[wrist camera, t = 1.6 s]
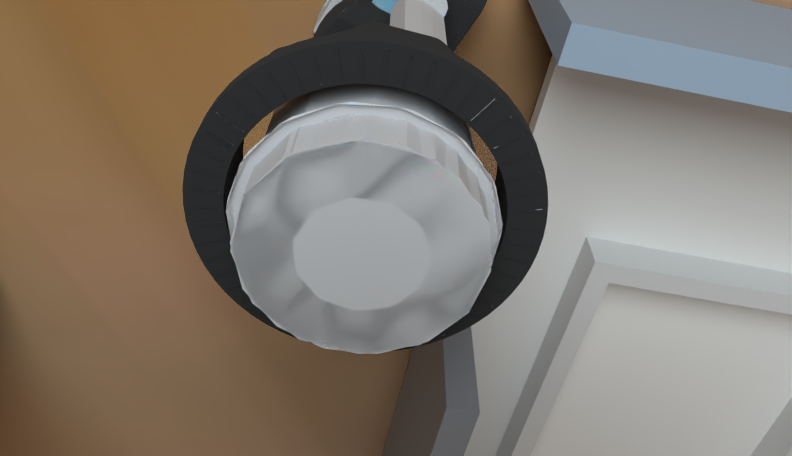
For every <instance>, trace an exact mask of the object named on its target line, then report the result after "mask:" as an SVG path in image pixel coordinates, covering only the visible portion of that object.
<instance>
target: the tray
mask: <svg viewBox="0 0 792 456" xmlns="http://www.w3.org/2000/svg"><path fill="white" fill-rule="evenodd" d="M528 1H529V3H530V5H531V8H532V10H533V12H534V14H535V16H536V19H537V21H538V23H539V25H540V28H541V30H542V32H543V34H544V36H545V39H546V41H547V43H548V45H549V48H550V50H551V52H552V54H553V55H552V58H551V61H550V64H549V67H548V70H547V73H546V76H545V79H544V82H543V85H542V88H541V91H540V94H539V97H538V100H537V103H536V106H535V109H534V112H533V115H532V118H531V121H530V124H529V128H530V130H531V132H532V134H533V137H534V139H535V141H536V144H537V147H538V150H539V153H540V157H541V160H542V163H543V167H544V170H545V175H546V181H547V187H548V214H547V223H546V228H545V232H544V237H543V240H542V243H541V246H540V248H539V251H538V254H537V256H536V258H535V260H534V262H533V264H532V266H531V268H530V269H529V271H528V273H527V274H526V276H525V277H524V279H523V280H522V282H521V283H520V284H519V285H518V287H517V288H516V289H515V290H514V292H513V293H512V294H511V295H510V296H509V297H508V298H507V299H506V300H505V301H504V302H503V303H502V304H501V305H500V306H499V307H497V308H496V309H495V310H494V311H493V312H491V313H490V314H489V315H488V316H486V317H485V318H483V319H482V320H480V321H479V322H477V323H476V324H474V325H472V326H471V331H472V341H473V351H474V361H475V370H476V380H477V390H478V400H479V409H480V414H479V416H478V419H477V422H476V424H475V427H474V430H473V432H472V435H471V438H470V440H469V443H468V446H467V448H466V451H465V453H464V456H792V10H791V9H787V8H782V7H778V6H773V5H768V4H764V3H759V2H754V1H750V0H528Z"/></svg>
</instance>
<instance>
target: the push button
mask: <svg viewBox="0 0 792 456" xmlns="http://www.w3.org/2000/svg"><path fill="white" fill-rule="evenodd" d="M486 2H487V0H326V2H325V3H324V5H323V7H322V9H321V11H320V13H319V15H318V18H317V21H316V24H315V28H314V30H313V31H314V33H315V34H314V37H313V38H311V39H308V40H304V41H300V42H297V43H294V44H292V45H289V46H285V47H282V48H278V49H276V50H274V51H273V52H271V53H270V54H269V55H268V56H266V57H264V58H262V59H260V60H259V61H257V62H256V63H255V64H253V65H252V66H250V67H249V68H247V69H246V70H244V71H243V72H242V73H241V74H240V75H239V76H238V77H237V78H235V79H234V80H233V81H232V82H231V83H230V84H229V85H228V86H227V87H226V88H225V89H224V91H223V92H222V93H221V94H220V95H219V96H218V97H217V99H216V100H215V102H214V103H213V105H212V106H211V108H210V109H209V111H208V112H207V114H206V116H205V118H204V119H203V121H202V123H201V125H200V127H199V129H198V131H197V133H196V135H195V137H194V139H193V142H192V144H191V147H190V150H189V153H188V156H187V161H186V165H185V170H184V179H183V205H184V211H185V217H186V222H187V226H188V229H189V233H190V236H191V239H192V241H193V243H194V246H195V248H196V251H197V253H198V255H199V256H200V258H201V260H202V262H203V263H204V265H205V267H206V268H207V270H208V271H209V273H210V274H211V275H212V277H213V278H214V280H215V281H216V282H217V283H218V284H219V285H220V287H221V288H222V289H223V290H224V291H225V292H226V293H227V294H228V295H229V296H230V297H231V298H232V299H233V300H234V301H235V302H236V303H237V304H239V305H240V306H241V307H242V308H244V309H245V310H246V311H248V312H249V313H250V314H251V315H253V316H254V317H256V318H258V319H259V320H261V321H262V322H264V323H265V324H267V325H269V326H271V327H273V328H275V329H277V330H279V331H280V332H283V333H285V334H288V335H290V336H292V337H295V338H297V339H299V340H303V341H306V342H309V343H312V344H315V345H317V346H319V347H321V348H324V349H332V350H342V351H348V352H352V353H356V354H364V353H371V354H379V353H384V352H388V351H395V350H402V349H408V348H414V347H418V346H422V345H426V344H430V343H433V342H436V341H439V340H442V339H445V338H447V337H450V336H452V335H454V334H457V333H459V332H461V331H463V330H465V329H467V328H468V327H470V326H472V325H474V324H476V323H477V322H479V321H480V320H482V319H483V318H485V317H486V316H488V315H489V314H490V313H491V312H493V311H494V310H495V309H496V308H497V307H499V306H500V305H501V304H502V303H503V302H504V301H505V300H506V299H507V298H508V297H509V296H510V295H511V294H512V293H513V292H514V290H515V289H516V288H517V287H518V285H519V284H520V283H521V282H522V280H523V279H524V277H525V276H526V274H527V273H528V271H529V269H530V268H531V266H532V264H533V262H534V260H535V258H536V256H537V254H538V251H539V248H540V246H541V243H542V240H543V237H544V232H545V228H546V223H547V214H548V187H547V181H546V175H545V170H544V167H543V163H542V160H541V157H540V153H539V150H538V147H537V144H536V141H535V139H534V137H533V134H532V132H531V130H530V128H529V126H528V124H527V122H526V121H525V119H524V117H523V116H522V114H521V112H520V111H519V110H518V108H517V107H516V106H515V104H514V103H513V102H512V100H511V99H510V98H509V96H508V95H507V94H506V93H505V92H504V91H503V90H502V89H501V88H500V87H499V86H498V85H497V84H496V83H495V82H494V81H492V80H491V79H490V78H489V77H488V76H486V75H485V74H484V73H483V72H481V71H480V70H479V69H477V68H476V67H474V66H473V65H471V64H470V63H468V62H467V61H465V60H464V59H462V58H460V57H458V56H457V55H456V54H455V53H454V52H453V51H454V50H455V48H456V47H457V46H458V44H459V43H460V41H461V40H462V39H463V37H464V36H465V34H466V33H467V31H468V30H469V29H470V27H471V26H472V24H473V23H474V22H475V20H476V19H477V17H478V16H479V15H480V13H481V12H482V10H483V8H484V6H485V4H486ZM274 109H275V111H274V113H273V116H272V119H271V122H270V124H269V127H268V130H267V132H266V135H265V137H264V138H263V139H262V140H261V141H260V142H258V143H257V144H256V145H255V146H254V147H253V148H252V149H251V150H249V151H248V153H247V154H246V155H245V157H244V158H243V144H244V138H245V137H246V135H247V134H248V133H249V132H250V130H251V129H252V128H253V127H254V126H255V125H256V124H257V123H258V122H259V121H260V120H261V119H262V118H264V117H265V116H266V115H268V114H269V113H270V112H272V111H273V110H274ZM469 125H470V126H471V127H472V128H473V129H474V130H475V131H476V132H477V133H478V134H479V136H480V137H481V138H482V140H483V141H484V142H485V144H486V145H487V146H488V147H489V149H490V151H491V153H492V154H493V156H494V158H495V159H496V161H497V175H496V181H495V183H494V181H493V178H492V176H491V175H490V173H489V172H488V171H487V169H486V168H485V167H484V165H483V164H482V163H481V161H480V160H479V159H478V157H477V156H476V152H475V147H474V143H473V139H472V135H471V130H470V126H469Z"/></svg>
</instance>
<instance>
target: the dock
mask: <svg viewBox="0 0 792 456" xmlns="http://www.w3.org/2000/svg"><path fill="white" fill-rule="evenodd" d="M479 414H480V409H479V400H478V390H477V380H476V370H475V361H474V351H473V341H472V331H471V326H470V327H468V328H467V329H465V330H463V331H461V332H459V333H457V334H454V335H452V336H450V337H447V338H445V339H442V340H439V341H436V342H433V343H430V344H426V345H422V346H418V347H414V348H413V349H412V353H411V356H410V360H409V363H408V367H407V370H406V373H405V377H404V380H403V384H402V387H401V391H400V394H399V398H398V401H397V405H396V408H395V412H394V415H393V419H392V422H391V426H390V429H389V433H388V436H387V440H386V443H385V447H384V450H383V454H382V456H464V453H465V451H466V448H467V446H468V443H469V440H470V438H471V435H472V432H473V430H474V427H475V424H476V422H477V419H478V416H479Z"/></svg>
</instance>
